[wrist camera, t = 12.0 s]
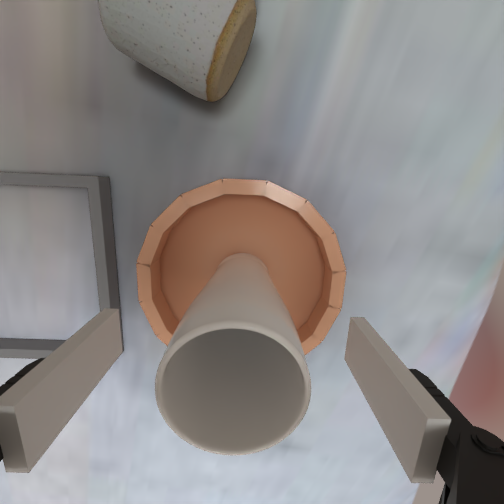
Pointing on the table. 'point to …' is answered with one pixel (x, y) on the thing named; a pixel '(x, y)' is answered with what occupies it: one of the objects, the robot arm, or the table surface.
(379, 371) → the robot arm
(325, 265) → the bowl
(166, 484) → the table surface
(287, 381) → the drinking glass
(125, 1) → the ceramic mug
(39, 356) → the tray
